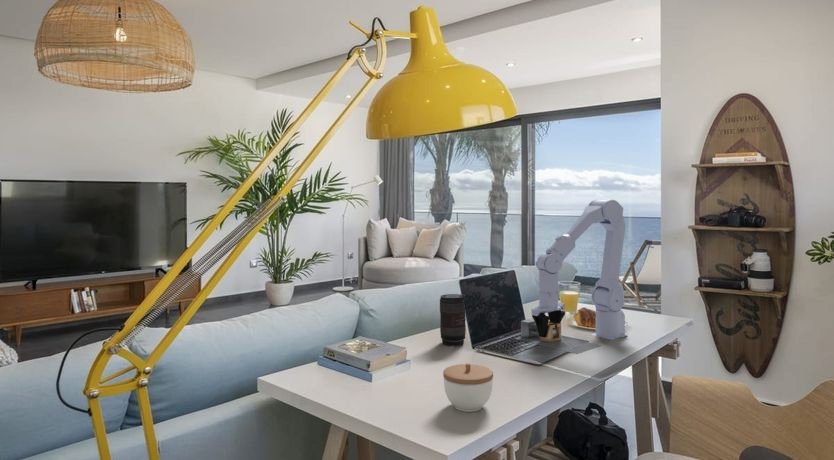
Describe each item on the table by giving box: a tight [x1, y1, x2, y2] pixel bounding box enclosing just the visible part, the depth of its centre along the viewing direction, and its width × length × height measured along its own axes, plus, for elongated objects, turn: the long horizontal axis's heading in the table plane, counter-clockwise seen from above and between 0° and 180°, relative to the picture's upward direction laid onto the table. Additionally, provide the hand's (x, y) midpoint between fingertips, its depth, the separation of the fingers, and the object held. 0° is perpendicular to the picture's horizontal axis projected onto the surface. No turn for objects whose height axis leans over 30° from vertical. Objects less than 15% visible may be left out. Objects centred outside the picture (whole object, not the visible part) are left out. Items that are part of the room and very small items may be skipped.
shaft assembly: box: [520, 317, 557, 339], centre depth 170 cm, size 7×10×5 cm, turn 40°
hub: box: [540, 320, 562, 343], centre depth 167 cm, size 5×4×5 cm
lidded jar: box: [443, 362, 494, 413], centre depth 117 cm, size 11×11×9 cm
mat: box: [513, 336, 602, 355], centre depth 166 cm, size 13×23×1 cm, turn 40°
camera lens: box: [439, 293, 467, 347], centre depth 168 cm, size 8×8×15 cm
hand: (548, 335), depth 168 cm, fingers closed on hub, 5 cm apart
